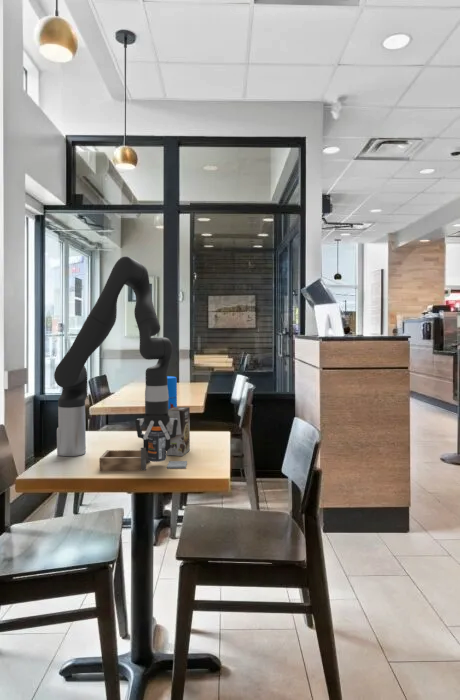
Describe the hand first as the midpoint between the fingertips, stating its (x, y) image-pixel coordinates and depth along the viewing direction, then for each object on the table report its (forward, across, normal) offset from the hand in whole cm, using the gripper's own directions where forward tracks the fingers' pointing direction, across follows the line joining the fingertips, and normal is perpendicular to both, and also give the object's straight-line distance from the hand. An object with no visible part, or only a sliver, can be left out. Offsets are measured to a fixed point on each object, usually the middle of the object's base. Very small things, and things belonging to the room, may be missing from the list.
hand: (157, 450), depth 171 cm
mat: (+5, +6, 0) cm, 8 cm away
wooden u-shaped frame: (+5, -10, 0) cm, 12 cm away
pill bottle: (+3, 0, 0) cm, 3 cm away
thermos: (+5, -3, +44) cm, 45 cm away
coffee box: (+5, +5, +18) cm, 20 cm away
